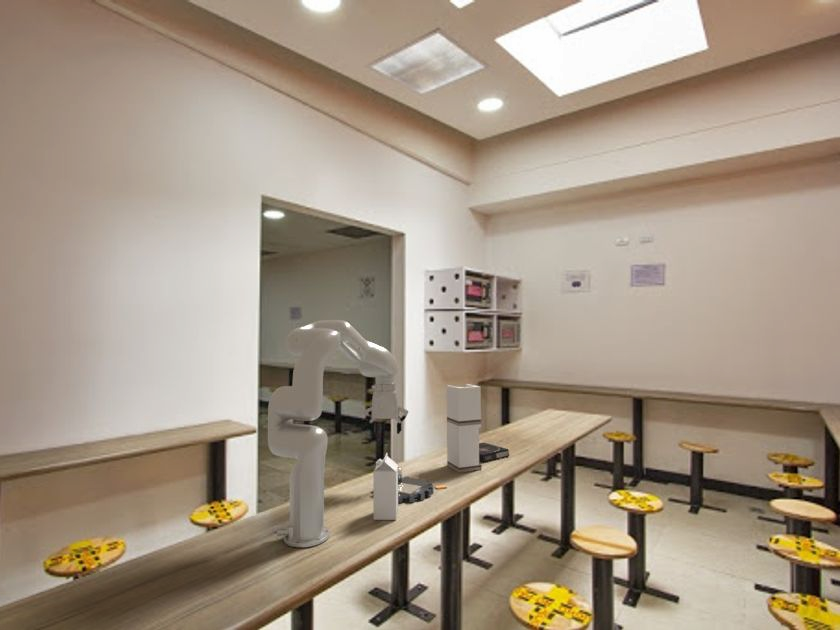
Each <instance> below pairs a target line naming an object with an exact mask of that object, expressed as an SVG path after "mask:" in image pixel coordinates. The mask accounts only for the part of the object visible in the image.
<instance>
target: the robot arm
mask: <svg viewBox="0 0 840 630" xmlns="http://www.w3.org/2000/svg"><path fill="white" fill-rule="evenodd" d="M285 347H286V349H287V351H288V352H289V354H291V355H293V356H295V357H299V358H298V359H297V361H296V362H295V365H294V367H293V373H292V385H289V386H288V385H287V386H286V385H285V386H284V385H283V386H280V387H277V388H276V389H275V390H274V391H273V392H272V394H271V396H270V397H269V401H268V408H267V444H268V449H269V450H270V452H271V453H272V454H273V455H274V456H278V457H281V458H283V457H284V458H290V459H296V462H295V464H294V466H293V467H292V469H291V471H290V474H289V519H288V521H287V523H284V524H283V525H274V526H272V534H273V535H274V534H276V535H277V537H279V536H283V542H284V543H285V544H286V545H287V546H289V547H293V548H294V547H295V548H310V547H314V546H318V545H321V544H322V543H324V542H326V541H327V540H328V539H329V538H330V529H329V528H328V527H326V526H325V463H326V461H325V460H326V455H327V449H328V444H329V443H328V442H329V439H328V435H327V434H328V433H327V432H326V431H325V429H323V428H321V427H319V426H316V425H312V424H311V425H310V424H302V423H301V424H300V423H294V421H303V422H304V421H305V422H307V421H311V422H312V421H314V420H318V418H320V416H321V415H322V412H323V403H324V401H323V400H324V399H323V397H324V383H323V382H324V371H325V369H326V368H325V367H326V365H327V364H328V362H329V361H330V359H331V358H332V357H333V355H335V353H336V352H337V351H340V352H341V353H342V354H343V355H344V356H345V357H346V358H347V359H349V360H350V361H353V362H357V363H359V364H358V370H359V373H360V374H361V375H362V376H364V377H366V378H367V377H368V378H375V383H374V384H372V385H371V389H374V390H375V391H373V393H372V400H371V406H370V407H369V408H366V409H364V410H363V412H362V413H363V414H364V416H365V418H366V420H368V422H369V424H370V431H371V434H375V433H376V432H377V431H376V429H377V428H376V427H377V426H376V421H375V420H376V419H377V420H379V419H381V420H393V419H395V420H396V421H397V423H396V433H397V435H399V434H400V433H401V432H402V427H403V426H402V425H403V424H402V423H403V421H404V420H405V419H406V418H407V416H408V414H409V410H407V409H406V408H403V407H401V406H400V401H399V394H398V391H397V390H396V374H398V371H399V364H398V361H397V359H396V357H395V356H394V355H393V354H392V352H390V351H389V350H388V349H386V348H385V347H383V346H382V345H381V346H380V345H378V344H376V343H374V342H371V341H369V340H366V339H365V338H364V337H363V335H361V334H360V333H359V332H358V331H357V330H356V329H355V328H354V326H353V325H351V323H349V322H348V321H346V320H343V319H342V320H341V319H329V320H327V319H325V320H324V319H323V320H317V321H314V322H311V323H308V324H306V325H302V326H299V327H297V328H294V329H293V330H292V331H290V332H289V333H288V335H287V337H286V341H285ZM370 412H371V415H370V414H369V413H370ZM400 412H401V413H403V415H402V417H401V416H400Z"/></svg>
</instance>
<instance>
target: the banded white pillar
mask: <svg viewBox="0 0 840 630" xmlns="http://www.w3.org/2000/svg"><path fill="white" fill-rule="evenodd" d="M481 387H482V386H479V385H474V384H469V383H466V384H465V387H464V386H453V385H449V384H447V385H446V457H447V459H446V460H447V461H446V463H447V464H446V465H448V467H449V466H450V467H449V468H451V469H452V468H453V469H452V470H454V471H455V472H457V471H458V472H457V473H459V472H461V473H467V471H469V472H475V471H474V470H476V471H482V470H481V469H483V467H482V463H480V462H479V443H480V431H479V429H480V428H482V401H481V399H482V397H481V395H482V394H481V393H482V391H481Z"/></svg>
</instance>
